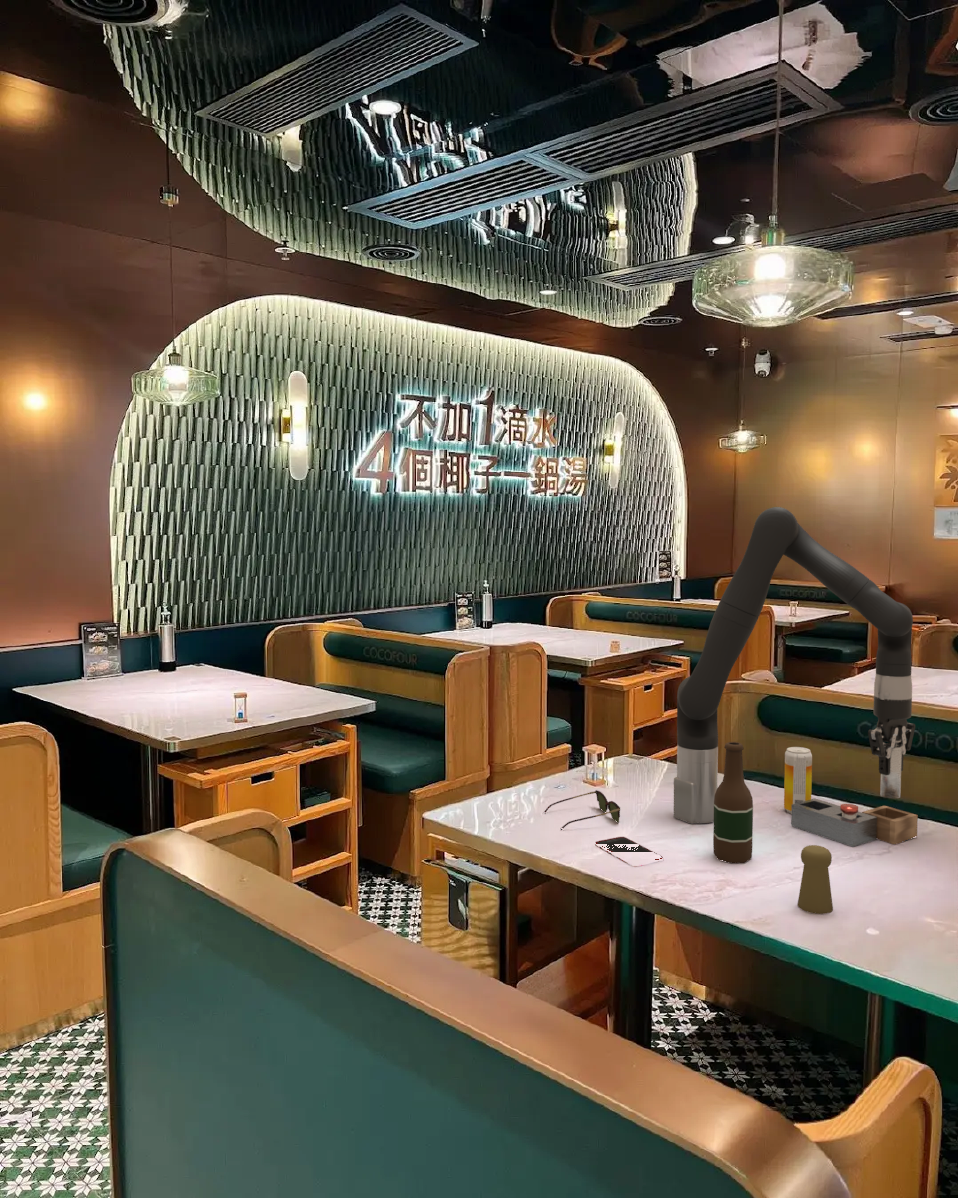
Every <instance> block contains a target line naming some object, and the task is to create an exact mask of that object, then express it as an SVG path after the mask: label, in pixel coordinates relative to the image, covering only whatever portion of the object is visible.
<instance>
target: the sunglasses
mask: <svg viewBox="0 0 958 1198" xmlns="http://www.w3.org/2000/svg"><path fill="white" fill-rule="evenodd" d="M593 794H595V795H596V801H597V803H598V806H599V809H600V808H601V809H602V810H603V811H604V812H606V813H604V812H603V811H602V810H601V809H600V810H601V811H602V812H603V813H600V814H596V815H590V816H586V817H582V818H581V817H580V818H576V819H575V820H574V819H573V820H570V821H568V822H566V823H565V824H564V825H562V826H561V828H563V829H564V828H565V827H567V826H568V825H569V824H572V823H575V822H579V821H584V820H588V819H593V818H596V817H597V818H598V817H600V816H604V815H607V814H610V817H611V819H612V818H613V819H614V821H615V820H616V821H617V822H618V823H617V822H616V821H615V822H616V823H617V824H619V823H620V817H621V806H619V804H617V803H616V802H615V801H613V800H610V801H608V799H607V797H606V796H605V795H604V793H603V792H602V791H600V790H598V789H596V790H595V791H589V792H587V793H583V794H580V795H575V796H573V797H572V796H571V797H569V798H568V797H567V798H565V799H563V800H558V801H556V802H553V803H551V804H550V805H548V806H547V807H546V809H545V810H544V811H543V813H544V812H546V813H547V811H548V810H549V808H551V807H552V806H555V805H557V804H560V803H563V802H566V801H570V800H572V799H576V798H580V797H584V796H587V795H593ZM613 819H612V820H613Z"/></svg>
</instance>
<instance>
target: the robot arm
mask: <svg viewBox="0 0 958 1198" xmlns="http://www.w3.org/2000/svg"><path fill="white" fill-rule="evenodd" d="M752 529H753V530H752V531H751V535H750V538H749V541H748V543H747V546H746V550H745V553H744V554H743V557H742V560H741V562H740V564H739V565H738V567H737V569H736V571H735V572H734V574H733V575H732V577H731V579H730V581H729V582H728V584H727V586H726V588H725V590H724V592H723V594H722V596H721V598H720V600H719V602H718V604H717V607H716V609H715V611H714V614H713V616H712V619H711V621H710V624H709V627H708V631H707V633H706V637H705V642H704V646H703V649H702V651H701V654H700V658H699V660H698V662H697V664H696V666H695V667H694V669H693V671H692V673H691V674H690V676H688V677H686V678H684V679H683V680H682V681H681V683H680V684H679V685H678V689H677V695H676V736H677V737H676V741H677V743H676V745H677V747H676V751H677V752H676V753H677V754H676V776H675V777H674V778H673V818H675V819H677V820H680V821H684V822H685V823H688V824H690V825H694V824H709V823H714V796H715V793H716V790H717V788H718V782H719V781H718V775H719V773H718V770H719V769H718V767H719V764H718V762H719V761H718V759H719V729H718V728H719V727H718V708H719V705H720V703H721V700H722V696H723V693H724V690H725V687H726V685H727V681H728V678H729V675H730V674H731V671H732V669H733V667H734V666H735V663H736V661H737V660H738V658H739V656H740V654H741V653H742V651H743V649H744V647H745V646H746V644H747V642H748V640H749V638H750V636H751V635H752V633H753V630H754V628H755V626H756V624H757V622H758V619H759V617H760V615H761V613H762V610H763V608H764V605H765V602H766V599H767V595H768V592H769V589H770V586H771V585H770V584H771V581H772V577H773V576H774V572H775V571H776V568H777V566H778V565H779V563H780V562H781V560H782V558H783V557H784V556H785V557H787V558H788V559H790V560H792V561H793V562H795V563H796V564H798V565H799V566H801V567H802V569H803V568H804V570H806V571H807V572H808V573H810V574H811V575H812V576H813V577H814V578H816V580H817V581H819V582H820V583H821V584H822V585H823V586H824V587H825V588H827V589H828V590H829V591H830V592H831V593H832V594H834V595H835V596H836V597H838V598H839V599H840V600H842V602H844V603H845V604H847V605H848V606H849V607H851V608H853V610H856V611H857V612H858V613H859V614H860V615H861V616H862V617H864V618H865V619H866V621H868V622H869V623H870V624H871V625H872V626H874V628H876V629H877V649H876V657H875V675H874V676H875V678H874V685H873V715H874V716H875V717H877V720H878V721H877V724H876V727H875V729H869V730H868V732H867V736H868V741H869V744H870V750H871V754H872V756H873V755H874V756H877V757H878V773H879V774H880V775H881V774H883V775H889V774H890V759H891V758H890V755H891V749H892V748H894V745H899V746H901V747H902V757H901V772H903V770H904V756H905V755H906V752H907V751H910V750H911V748H912V745H913V738H914V735H915V730H916V724H915V723H910V722H908V721H907V720H908V719H910V718H911V717H912V713H913V712H912V709H913V708H912V707H913V705H912V704H913V681H912V680H913V679H912V663H913V662H912V651H911V646H912V645H911V644H912V636H913V635H912V634H913V623H914V618H913V616H914V615H913V613H912V611H911V609H910V608H909V607H908V606H907V605H906V604H904V603H901V602H899V601H896V600H895V599H893V598H892V597H891V596H890V595H888V594H886V593H885V592H884V591H882V590H881V589H880V588H879V586H878V585H877V584H876V583H875V582H874V581H873V580H872V579H870V578H869V577H867V576H866V575H865V574H863V573H862V572H861V571H860V570H858V569H857V568H856V567H854V566H853V565H852V564H850V563H848V562H847V561H846V560H844V559H842V558H841V557H839V556H838V555H836V554H834V553H833V552H831V551H829V549H827V548H826V547H824V546H823V545H821V544H820V543H819V542H818V541H816V540H815V538H813V537H812V536H811V535H810V534H809V533H808V532H807V531H806V530H805V529H804V527H802V525H800V524H799V523H798V520H797V519H796V517H795V515H794V514H793V513H792V511H790V510H788V509H787V508H785V507H781V506H780V507H779V506H775V507H770V508H766V509H765V510H764V511H761V513H760V514H759V515H758V516H757V518H756V520H755V522H754V525H753V528H752ZM886 742H887V743H886ZM884 746H885V747H886V752H885V749H884Z"/></svg>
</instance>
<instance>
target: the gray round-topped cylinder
mask: <svg viewBox="0 0 958 1198" xmlns="http://www.w3.org/2000/svg"><path fill="white" fill-rule="evenodd" d="M884 749H885V752H886V747H885V746H884ZM901 757H902V747H901V746H899V745H894V748H892V749H891V755H890V758H891V759H890V774H889V775H883V774H880V797H883V798H885V799H899V798H901V791H902V790H901V789H902V788H901V787H902V771H901Z"/></svg>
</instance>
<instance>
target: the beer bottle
mask: <svg viewBox="0 0 958 1198" xmlns="http://www.w3.org/2000/svg"><path fill="white" fill-rule="evenodd" d="M724 749H725V759H724V771H723V778H722V781H721V782H720V784H718V786H717V790H716V793H715V796H714V822H713V832H712V833H713V837H712V838H713V840H712V841H713V842H712V846H713V854H714V856H715V857H716V859H717V858H718V859H717V860H718V861H720V860H723V861H722V862H724V861H726V862H725V863H728V862H729V863H728V864H746V863H747V862H748V861H750V860H751V859H752V857H753V837H754V835H753V829H754V827H753V826H754V825H753V824H754V819H753V818H754V802H753V796H752V794H751V791H750V789H749V787H748V786H747V784H746V783H745V778H744V777H745V776H744V765H743V750H744V745H743V743H741V742H739V741H738V742H737V741H729V742H726V743H725V745H724Z"/></svg>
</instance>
